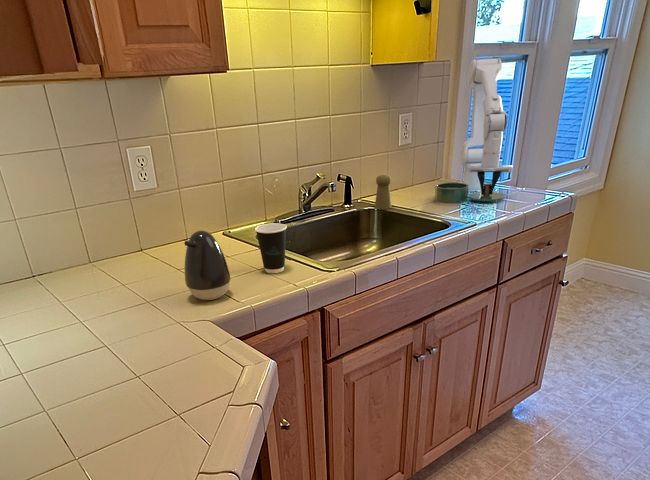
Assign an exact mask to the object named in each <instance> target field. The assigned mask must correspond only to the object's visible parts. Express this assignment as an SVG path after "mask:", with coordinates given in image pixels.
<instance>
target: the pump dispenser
mask: <svg viewBox="0 0 650 480" xmlns="http://www.w3.org/2000/svg"><path fill="white" fill-rule="evenodd" d="M183 244H184V246H186V249H185V255H184V282H185V286H186V287H187V288H188V290H189V292H190V294H192V295H193V296H194V297H195V298H196V299H199V300H202V301H214V300H217V299H220V298H222V297H223V296H224V295H225V294H226V293H227V291H228V290H229V288H230V282H231V280H232V279H231V273H230V269H229V264H228V262H227V260H226V256H225V255H224V252H223V250H222V248H221V246H220V244H219V243H218V241H217V239H216V238H215V236H213V234H211V233H210V232H209V231H206V230H197V231H195V232H193V233H192V234H191V235H190V237H189V239H188V240H185V241H184V242H183Z"/></svg>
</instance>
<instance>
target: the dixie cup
mask: <svg viewBox="0 0 650 480" xmlns="http://www.w3.org/2000/svg"><path fill="white" fill-rule="evenodd" d="M287 228H288V227H287V225H286V224H285V223H277V222H271V223H263V224H260V225H257V226H255V228H254V232H255V233H256V237H257V242H258V246H259V251H260V256H261V260H262V264H263V268H264V269H265V272H266V273H268V274H278V273H281V272H284V270H285V266H286V238H287V236H286V235H287V233H286V232H287Z"/></svg>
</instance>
